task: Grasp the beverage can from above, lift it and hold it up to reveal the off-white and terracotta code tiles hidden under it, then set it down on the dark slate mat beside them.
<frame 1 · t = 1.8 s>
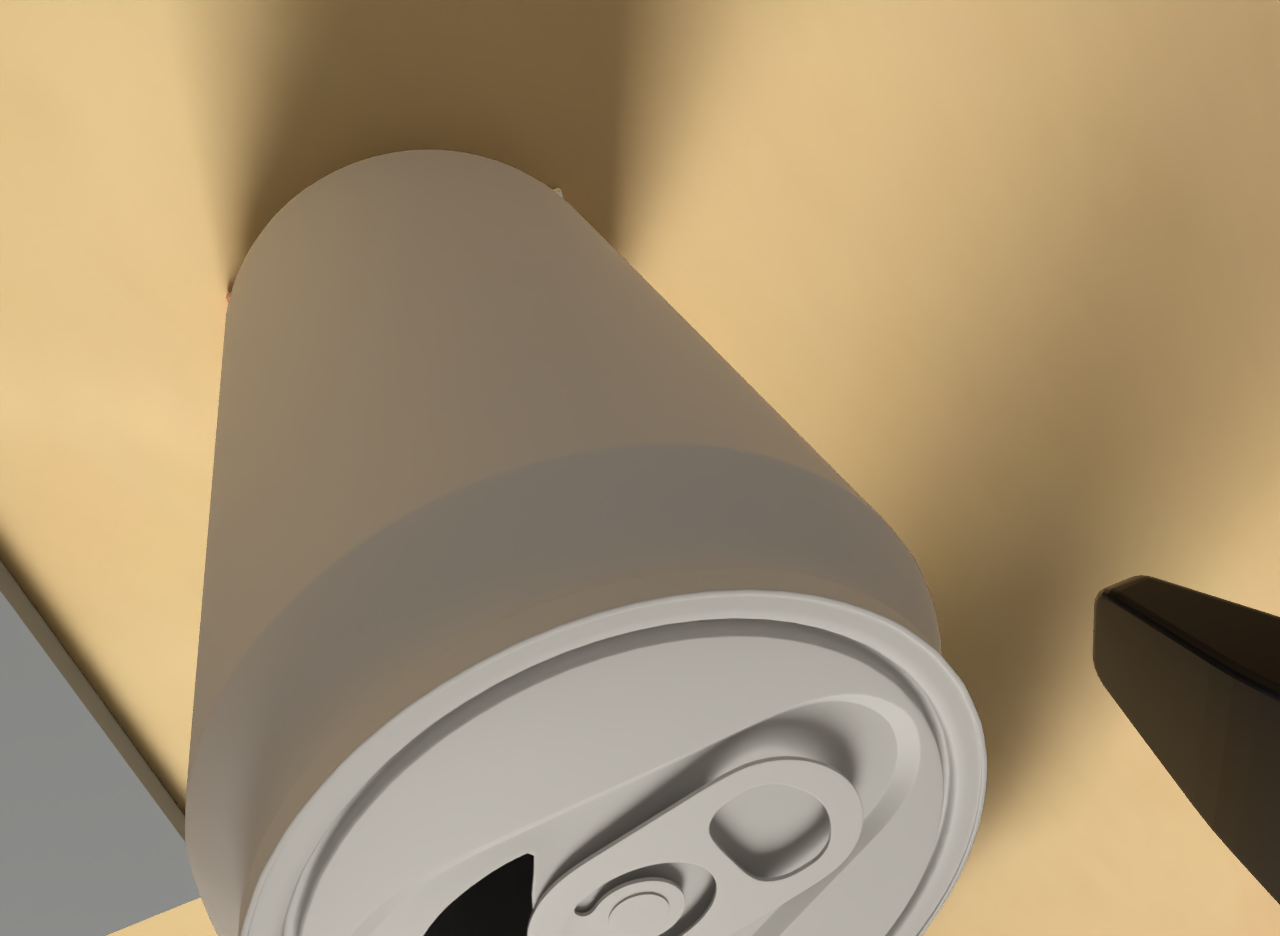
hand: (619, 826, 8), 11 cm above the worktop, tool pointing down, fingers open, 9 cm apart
beverage can: (428, 326, 17), on the worktop, touching code tiles
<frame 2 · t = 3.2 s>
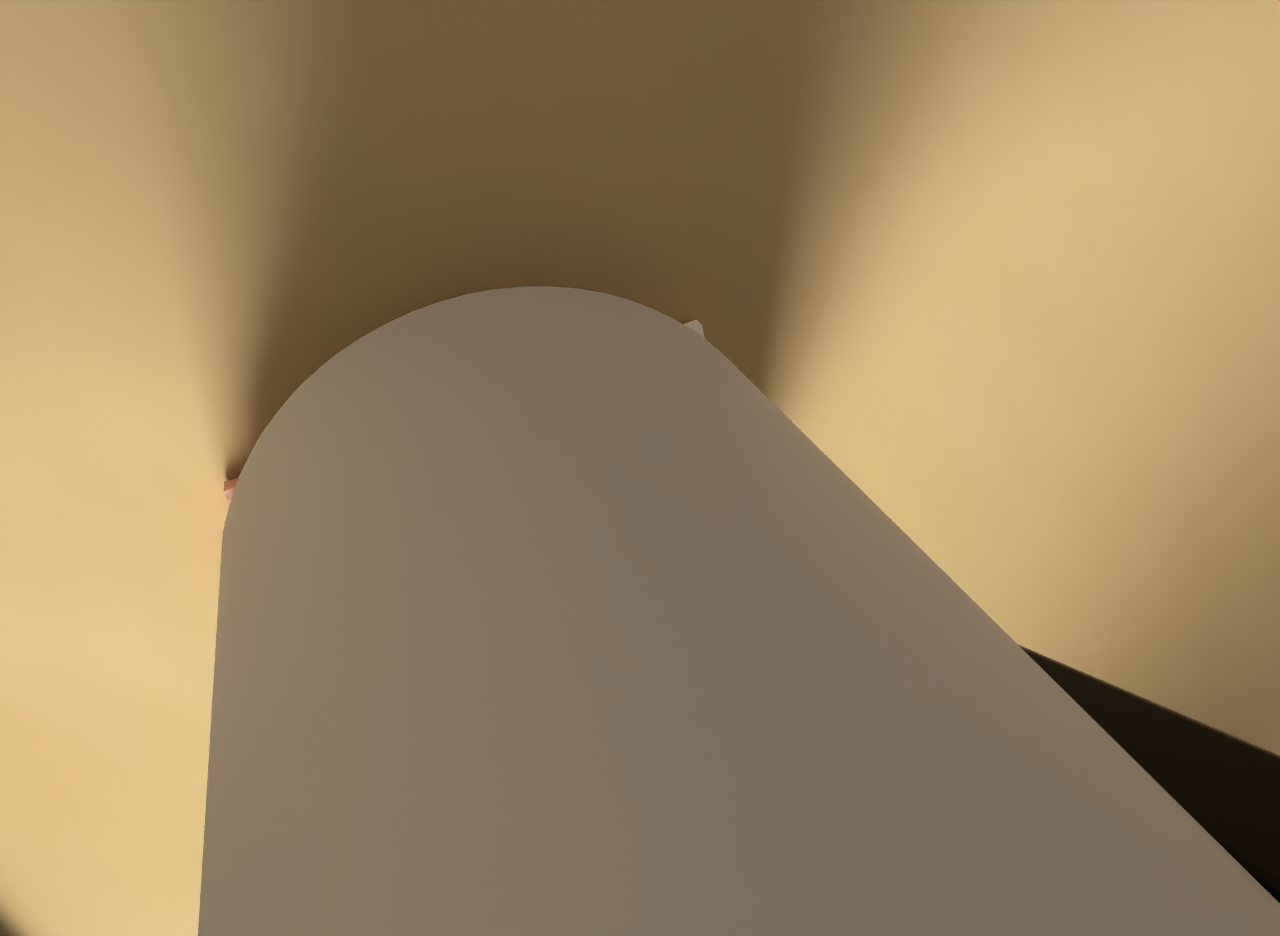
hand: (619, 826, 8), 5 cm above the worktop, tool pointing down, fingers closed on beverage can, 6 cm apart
code tiles: (508, 509, 12), on the worktop
beverage can: (508, 510, 12), on the worktop, touching code tiles, gripper
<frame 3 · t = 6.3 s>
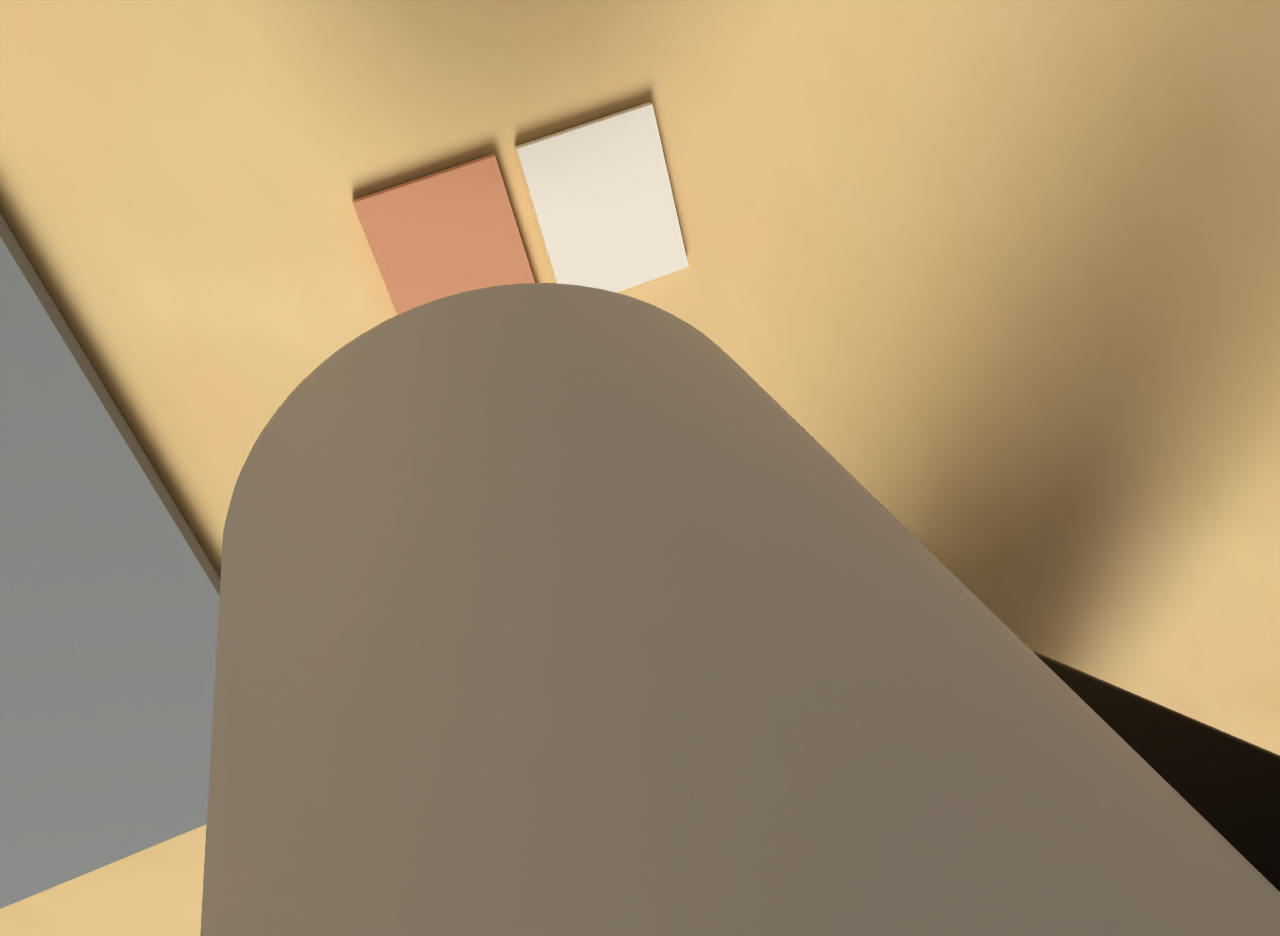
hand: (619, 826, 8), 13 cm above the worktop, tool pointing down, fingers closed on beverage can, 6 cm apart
code tiles: (529, 234, 19), on the worktop
beverage can: (509, 508, 12), point 8 cm above the worktop, touching gripper
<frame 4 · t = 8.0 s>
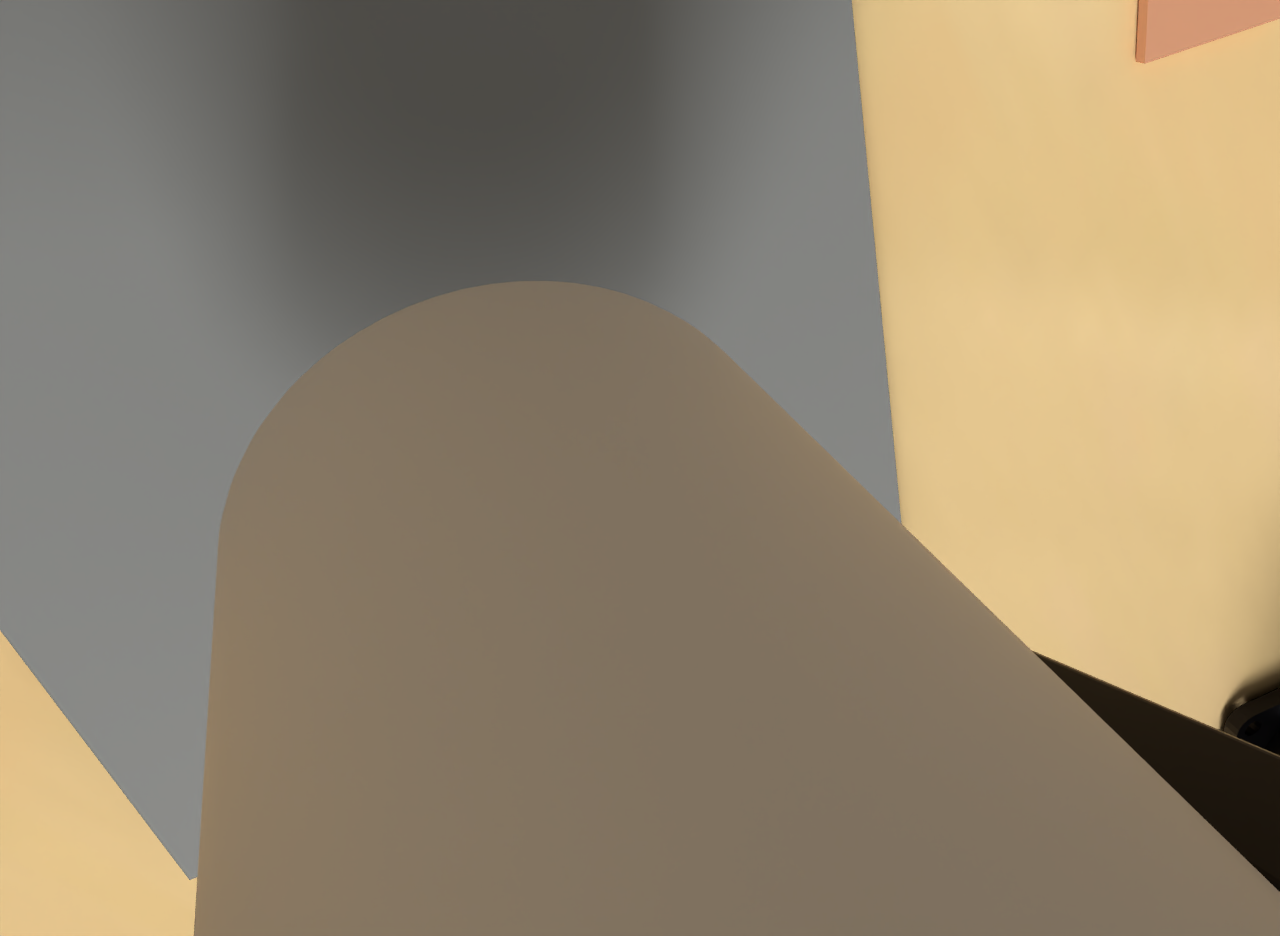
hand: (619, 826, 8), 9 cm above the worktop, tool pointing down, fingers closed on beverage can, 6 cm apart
slate mat: (442, 385, 15), on the worktop
beverage can: (506, 507, 12), point 4 cm above the worktop, touching gripper
when the fingers open (7 cm above the worktop, at t = 9.2 s): beverage can drops 1 cm, resting on slate mat.
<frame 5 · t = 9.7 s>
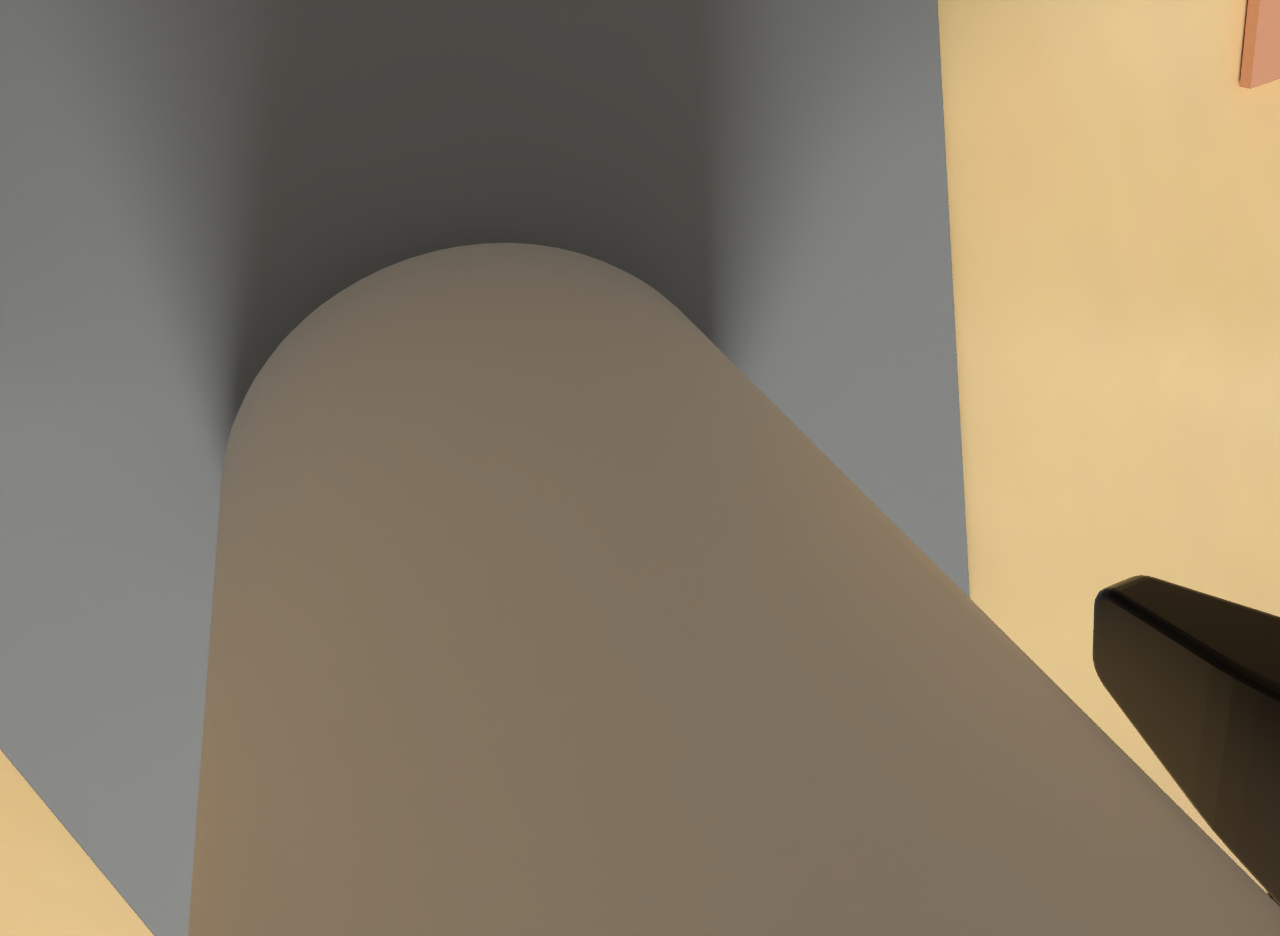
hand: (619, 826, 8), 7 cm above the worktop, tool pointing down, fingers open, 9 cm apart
slate mat: (474, 447, 14), on the worktop
beverage can: (485, 456, 14), resting on slate mat
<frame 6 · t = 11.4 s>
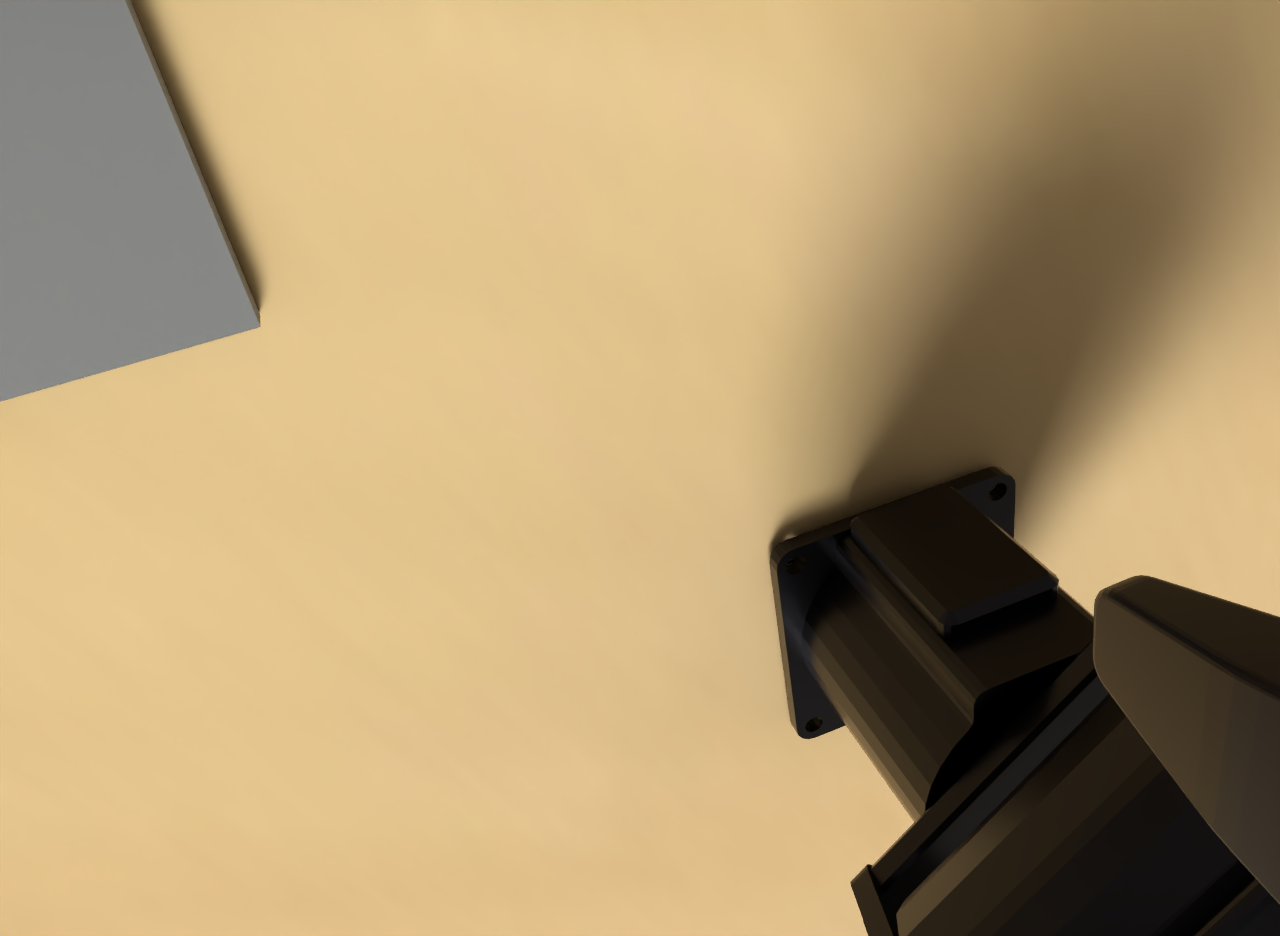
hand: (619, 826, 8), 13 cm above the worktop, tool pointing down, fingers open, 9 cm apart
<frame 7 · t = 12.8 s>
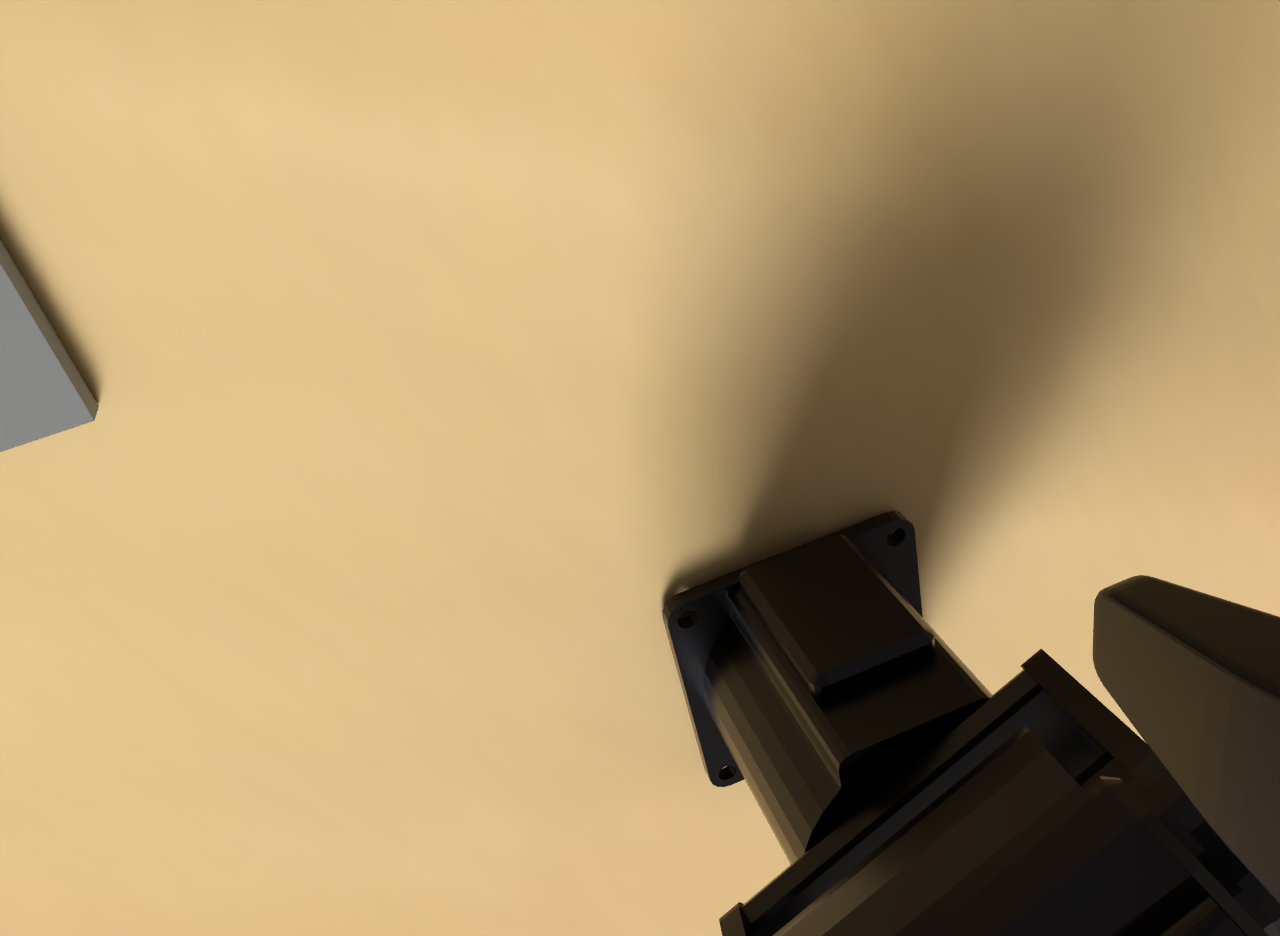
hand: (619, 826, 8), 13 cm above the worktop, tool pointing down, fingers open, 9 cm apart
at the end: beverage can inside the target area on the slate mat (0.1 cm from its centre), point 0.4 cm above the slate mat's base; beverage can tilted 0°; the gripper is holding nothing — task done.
